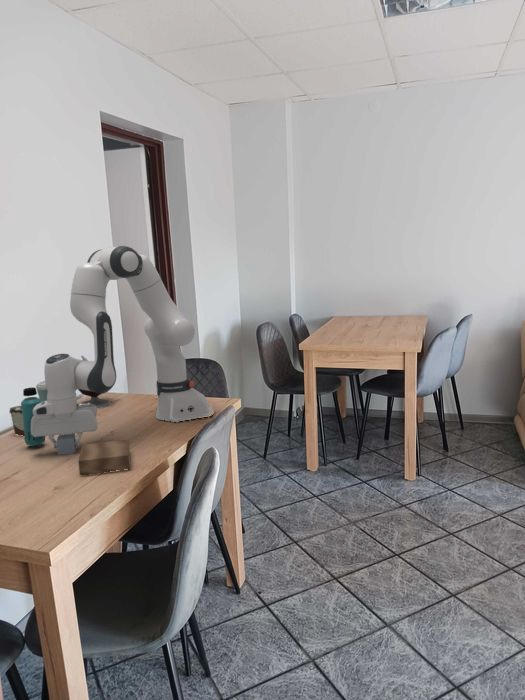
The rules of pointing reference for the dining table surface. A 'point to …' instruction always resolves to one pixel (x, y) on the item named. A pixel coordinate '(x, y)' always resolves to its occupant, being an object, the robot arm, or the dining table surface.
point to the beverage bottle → (30, 416)
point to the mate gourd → (94, 396)
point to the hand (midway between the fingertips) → (66, 446)
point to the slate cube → (66, 444)
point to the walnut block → (104, 457)
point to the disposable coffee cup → (42, 391)
